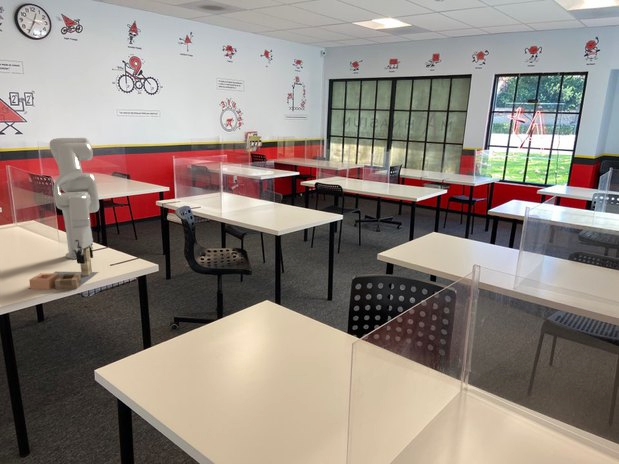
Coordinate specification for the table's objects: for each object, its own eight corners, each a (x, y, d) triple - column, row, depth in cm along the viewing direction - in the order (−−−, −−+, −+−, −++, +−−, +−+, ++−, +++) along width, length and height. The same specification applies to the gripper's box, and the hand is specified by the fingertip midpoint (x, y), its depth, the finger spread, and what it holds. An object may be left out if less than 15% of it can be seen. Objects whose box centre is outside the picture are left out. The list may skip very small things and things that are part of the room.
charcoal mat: (55, 272, 208) (55, 271, 208) (98, 273, 208) (98, 272, 208) (28, 289, 188) (28, 288, 188) (76, 290, 188) (75, 289, 188)
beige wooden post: (85, 273, 207) (81, 244, 203) (92, 273, 207) (88, 244, 203) (81, 275, 204) (78, 246, 200) (88, 275, 204) (85, 246, 200)
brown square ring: (61, 283, 194) (59, 274, 193) (81, 281, 196) (80, 273, 195) (56, 290, 187) (54, 281, 186) (77, 288, 189) (75, 279, 188)
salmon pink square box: (41, 281, 196) (40, 273, 195) (60, 282, 196) (58, 273, 195) (30, 288, 188) (29, 279, 187) (49, 289, 188) (48, 280, 187)
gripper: (82, 218, 207) (86, 254, 212) (61, 227, 191) (67, 266, 195) (98, 218, 207) (102, 254, 212) (79, 227, 191) (84, 267, 195)
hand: (85, 260), depth 204 cm, fingers open, 7 cm apart
